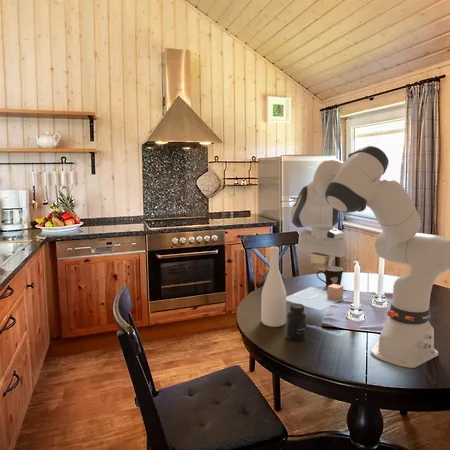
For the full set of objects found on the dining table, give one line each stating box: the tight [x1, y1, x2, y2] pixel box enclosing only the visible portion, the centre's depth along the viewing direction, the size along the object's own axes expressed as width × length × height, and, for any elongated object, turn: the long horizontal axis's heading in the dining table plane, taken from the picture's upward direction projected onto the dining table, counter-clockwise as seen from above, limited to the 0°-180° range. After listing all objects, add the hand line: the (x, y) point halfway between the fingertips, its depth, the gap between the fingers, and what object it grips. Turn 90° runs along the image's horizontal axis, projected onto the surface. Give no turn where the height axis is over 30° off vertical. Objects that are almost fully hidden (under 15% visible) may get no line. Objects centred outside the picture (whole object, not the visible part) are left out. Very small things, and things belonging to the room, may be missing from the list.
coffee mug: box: [316, 265, 344, 288], centre depth 196 cm, size 12×9×10 cm
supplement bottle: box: [286, 303, 308, 342], centre depth 141 cm, size 7×7×12 cm
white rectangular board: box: [286, 286, 349, 311], centre depth 180 cm, size 24×20×1 cm
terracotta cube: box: [326, 284, 344, 299], centre depth 180 cm, size 5×5×5 cm
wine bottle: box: [260, 245, 287, 328], centre depth 153 cm, size 10×10×30 cm
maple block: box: [310, 253, 332, 272], centre depth 168 cm, size 6×6×6 cm
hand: (321, 263), depth 168 cm, fingers closed on maple block, 6 cm apart
